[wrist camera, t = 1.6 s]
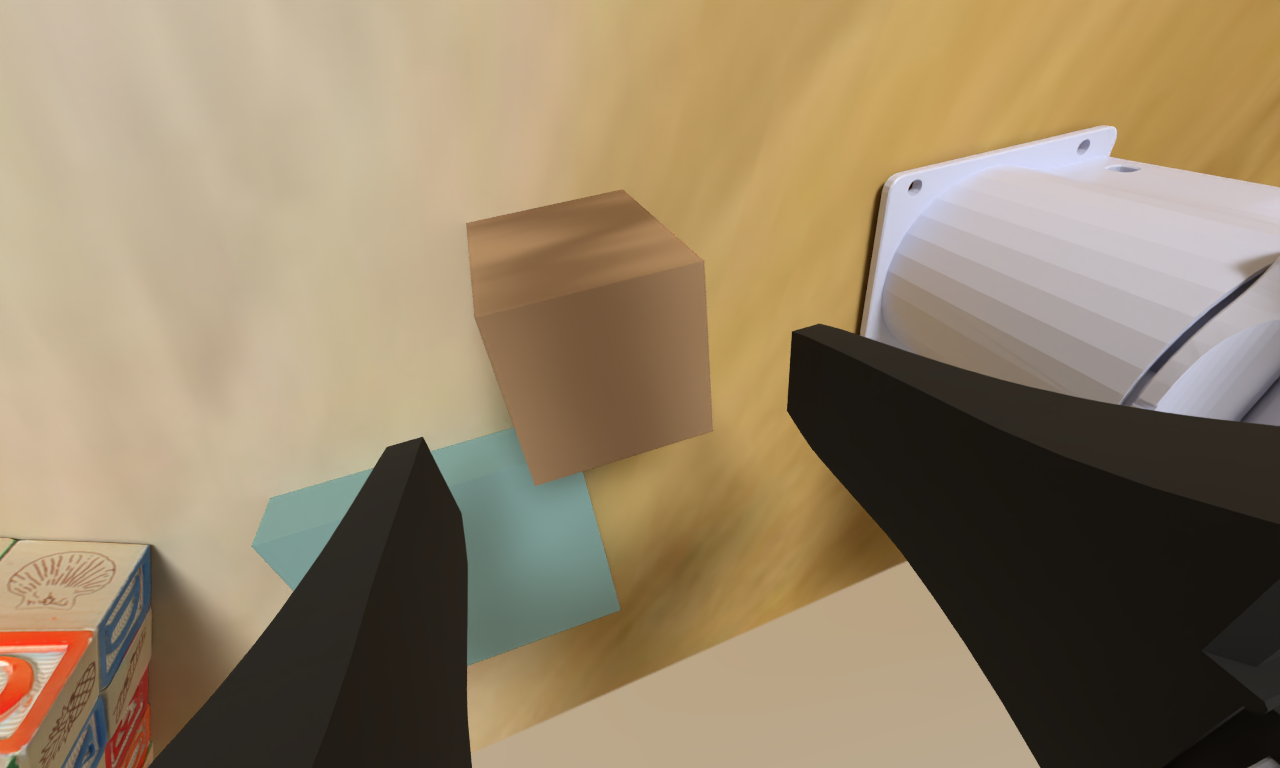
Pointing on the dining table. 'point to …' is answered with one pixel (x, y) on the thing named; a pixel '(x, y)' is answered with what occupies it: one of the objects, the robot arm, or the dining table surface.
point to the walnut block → (592, 331)
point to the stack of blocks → (74, 654)
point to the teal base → (479, 542)
